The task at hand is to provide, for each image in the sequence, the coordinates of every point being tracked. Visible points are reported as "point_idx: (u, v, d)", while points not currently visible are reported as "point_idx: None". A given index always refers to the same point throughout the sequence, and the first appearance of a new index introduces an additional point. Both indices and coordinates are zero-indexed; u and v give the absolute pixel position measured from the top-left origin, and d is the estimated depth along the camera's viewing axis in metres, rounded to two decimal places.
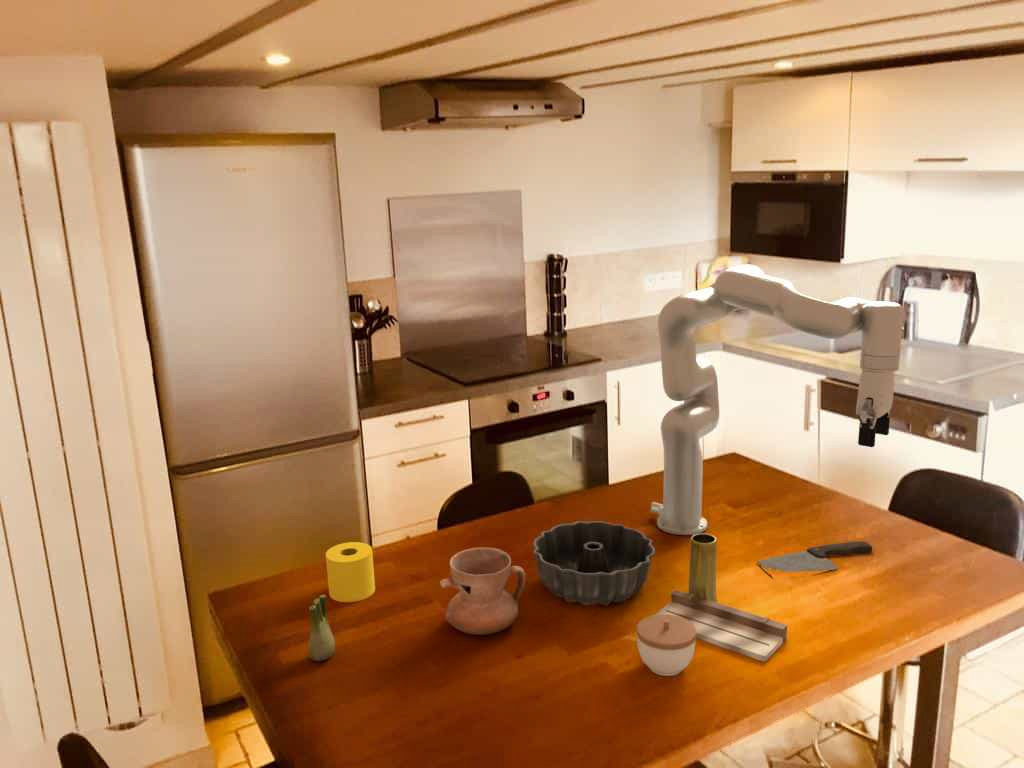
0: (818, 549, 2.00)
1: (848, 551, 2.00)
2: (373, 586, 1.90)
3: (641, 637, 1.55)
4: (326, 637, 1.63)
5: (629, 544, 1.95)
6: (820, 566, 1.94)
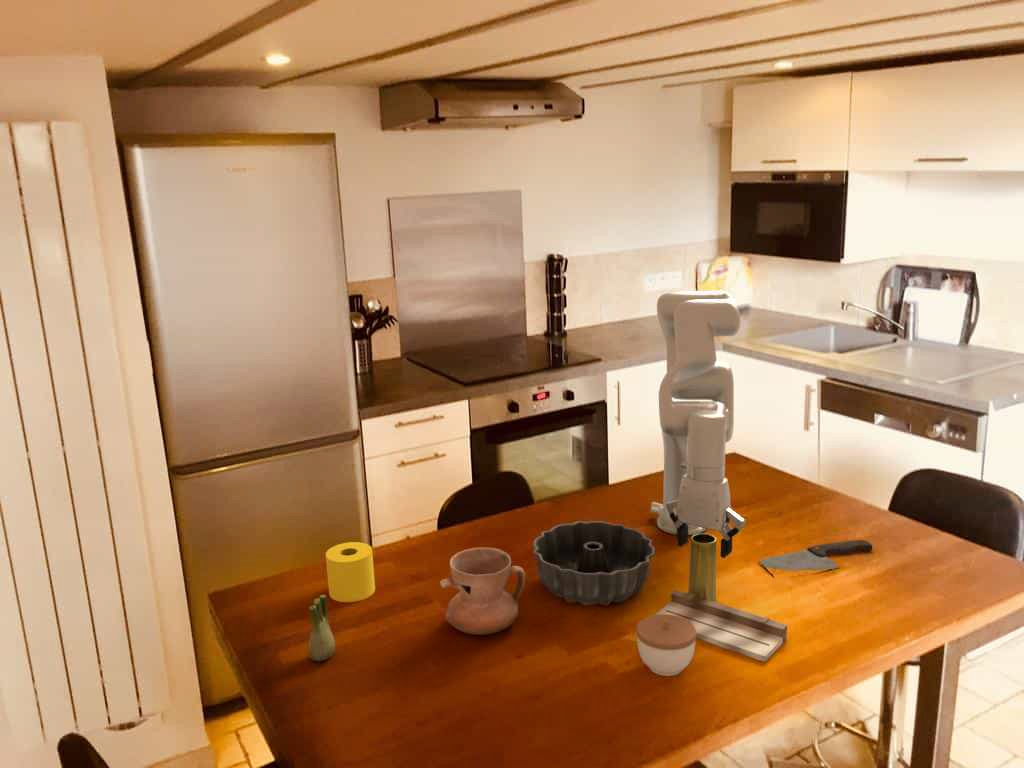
0: (818, 547, 2.01)
1: (848, 550, 2.01)
2: (373, 586, 1.90)
3: (641, 637, 1.55)
4: (326, 637, 1.63)
5: (629, 544, 1.95)
6: (821, 565, 1.95)
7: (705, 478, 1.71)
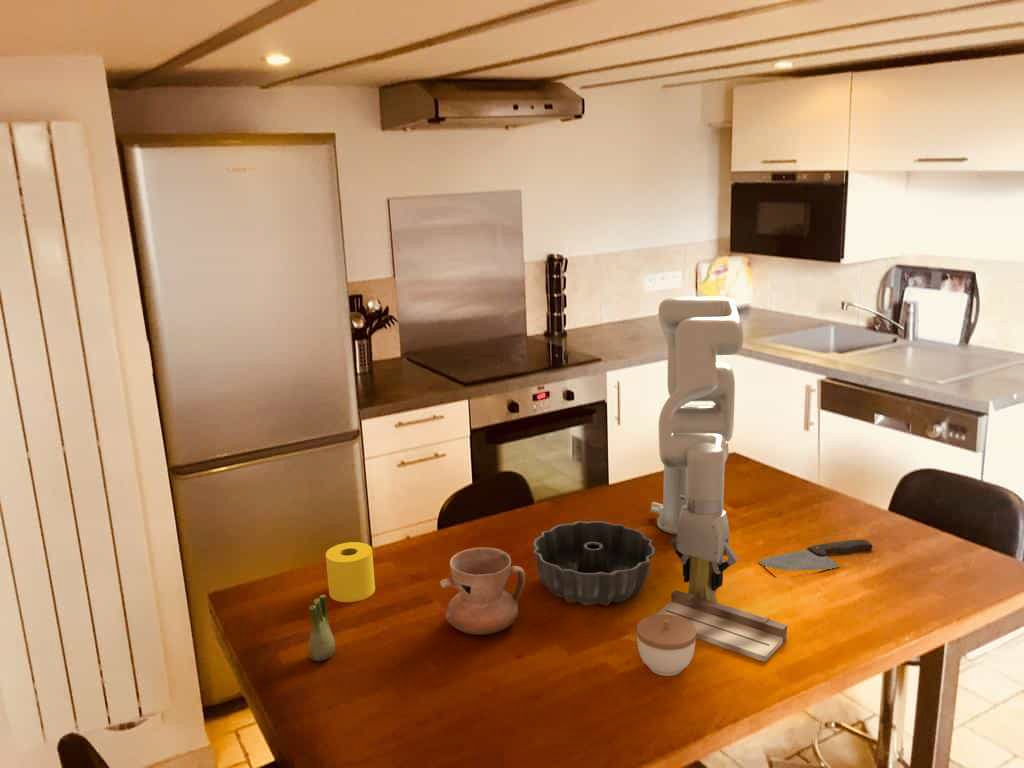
0: (818, 547, 2.01)
1: (848, 549, 2.01)
2: (373, 586, 1.90)
3: (641, 637, 1.55)
4: (326, 637, 1.63)
5: (629, 544, 1.95)
6: (821, 564, 1.95)
7: (704, 511, 1.73)
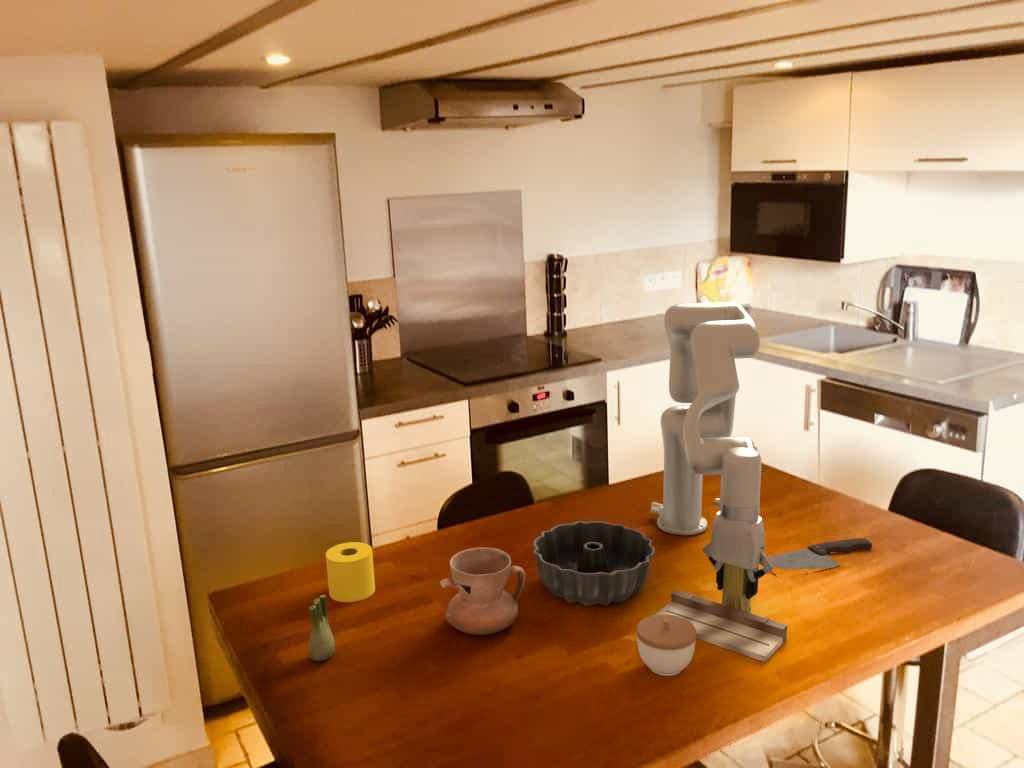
0: (819, 546, 2.02)
1: (848, 548, 2.01)
2: (373, 586, 1.90)
3: (641, 637, 1.55)
4: (326, 637, 1.63)
5: (629, 544, 1.95)
6: (822, 563, 1.95)
7: (740, 518, 1.68)
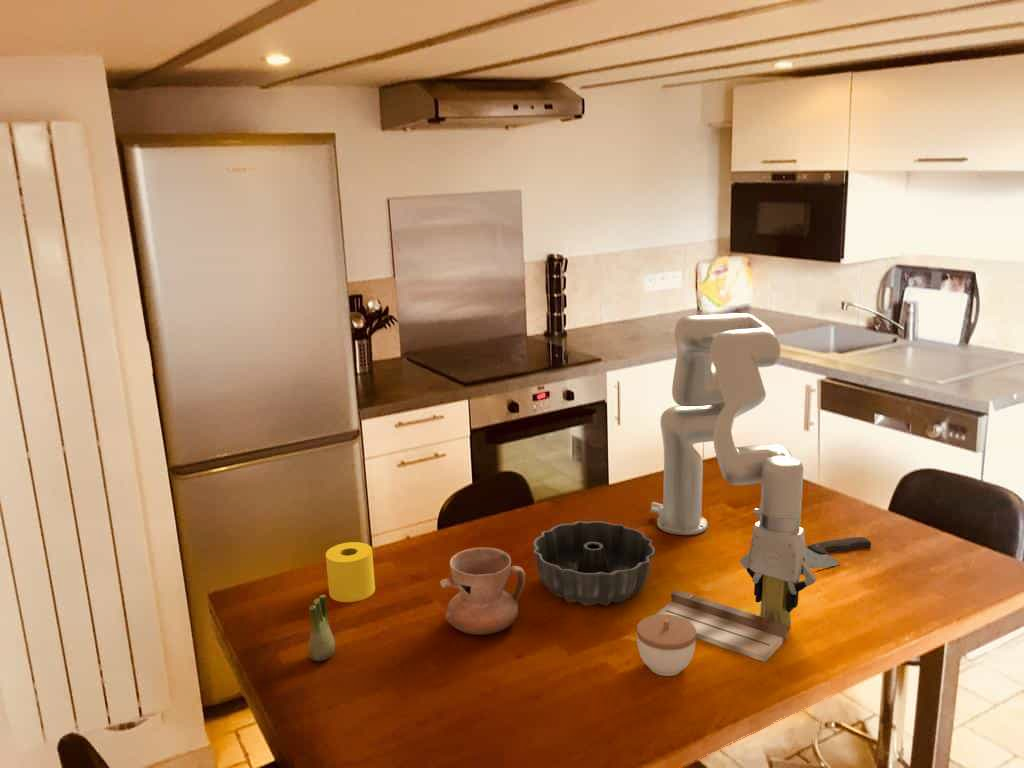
0: (818, 545, 2.02)
1: (848, 547, 2.02)
2: (373, 586, 1.90)
3: (641, 637, 1.55)
4: (326, 637, 1.63)
5: (629, 544, 1.95)
6: (822, 562, 1.96)
7: (781, 529, 1.63)
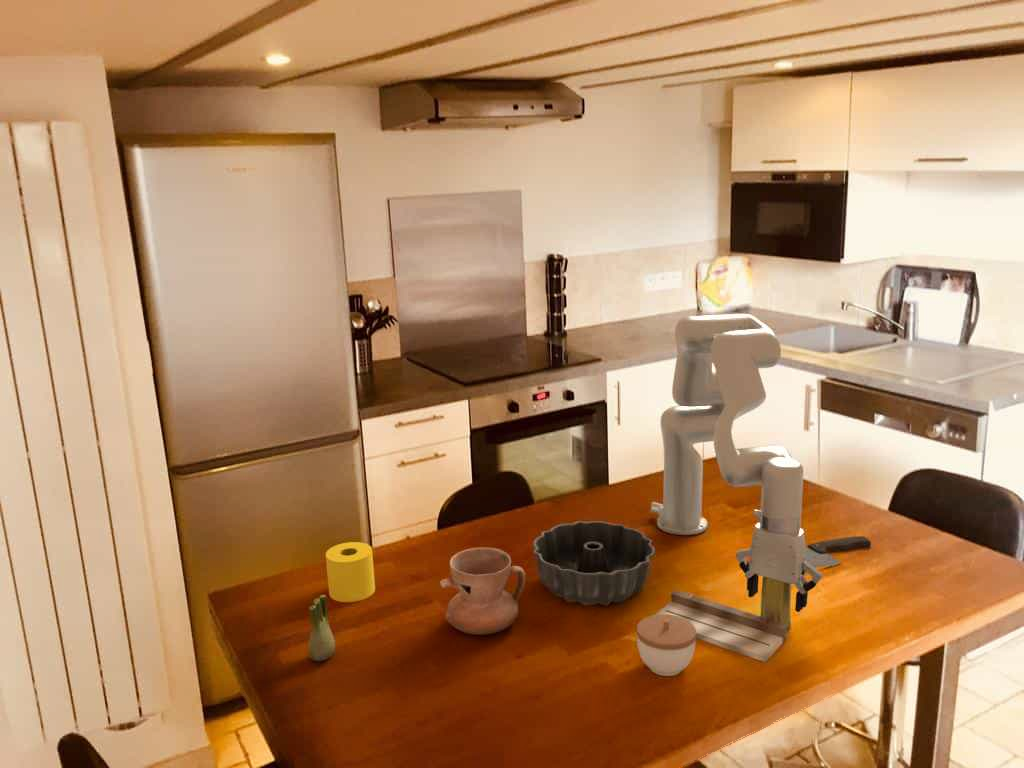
0: (818, 544, 2.02)
1: (848, 546, 2.02)
2: (373, 586, 1.90)
3: (641, 637, 1.55)
4: (326, 637, 1.63)
5: (629, 544, 1.95)
6: (822, 562, 1.96)
7: (781, 530, 1.63)
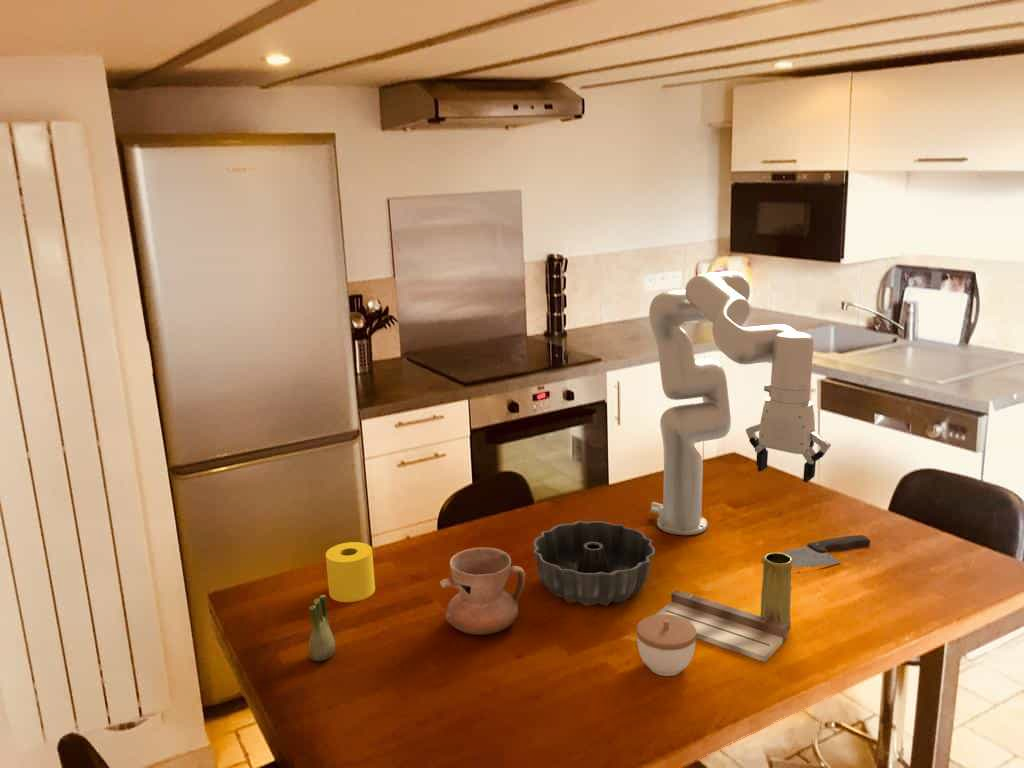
0: (818, 544, 2.03)
1: (847, 545, 2.03)
2: (373, 586, 1.90)
3: (641, 637, 1.55)
4: (326, 637, 1.63)
5: (629, 544, 1.95)
6: (823, 561, 1.97)
7: (791, 400, 1.68)
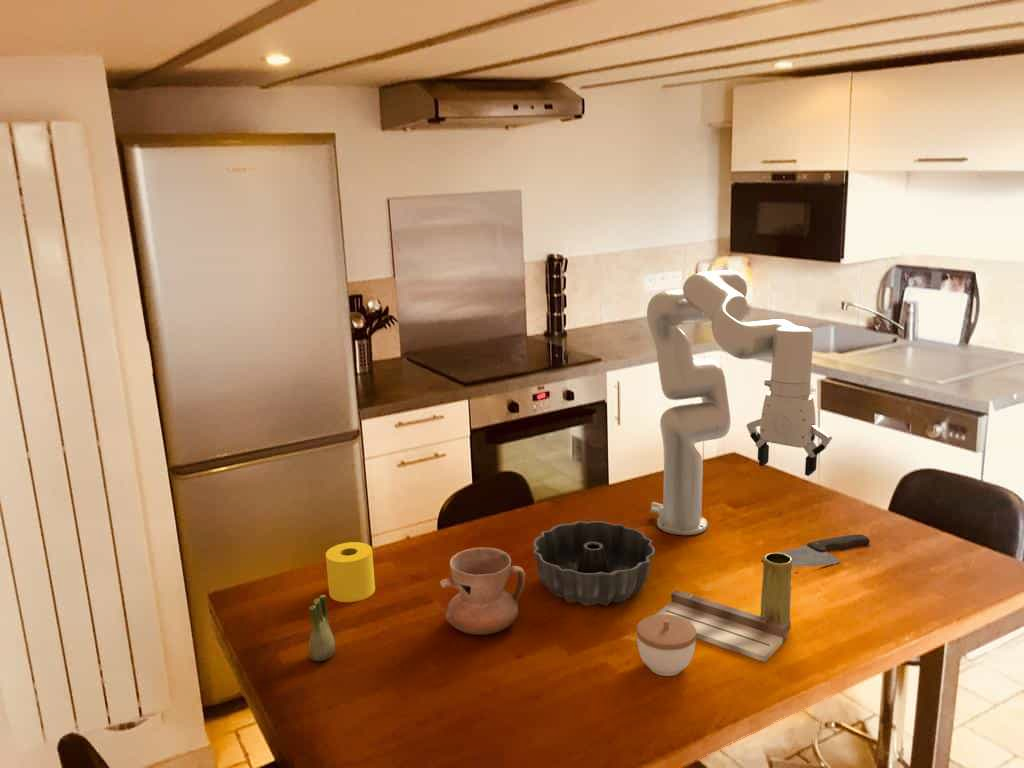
0: (818, 543, 2.03)
1: (847, 544, 2.03)
2: (373, 586, 1.90)
3: (641, 637, 1.55)
4: (326, 637, 1.63)
5: (629, 544, 1.95)
6: (823, 560, 1.97)
7: (791, 394, 1.69)
